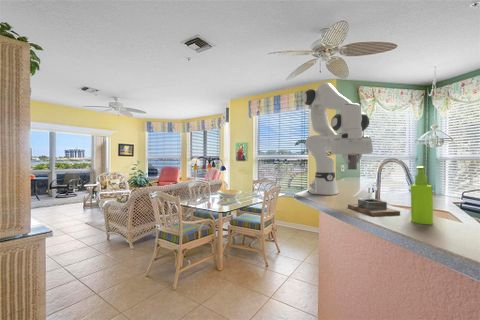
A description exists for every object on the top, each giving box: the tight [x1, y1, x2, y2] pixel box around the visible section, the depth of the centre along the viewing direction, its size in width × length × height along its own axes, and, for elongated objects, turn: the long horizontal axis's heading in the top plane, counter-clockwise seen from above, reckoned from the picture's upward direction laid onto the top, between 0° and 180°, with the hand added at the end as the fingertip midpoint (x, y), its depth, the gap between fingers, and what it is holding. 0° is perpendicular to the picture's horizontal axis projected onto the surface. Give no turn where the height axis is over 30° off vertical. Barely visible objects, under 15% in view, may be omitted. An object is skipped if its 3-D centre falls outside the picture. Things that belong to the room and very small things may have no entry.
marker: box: [347, 153, 358, 171], centre depth 106 cm, size 4×4×8 cm
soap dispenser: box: [410, 165, 434, 225], centre depth 76 cm, size 6×7×20 cm
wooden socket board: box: [347, 198, 401, 217], centre depth 93 cm, size 16×12×4 cm
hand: (352, 163), depth 106 cm, fingers closed on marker, 4 cm apart
